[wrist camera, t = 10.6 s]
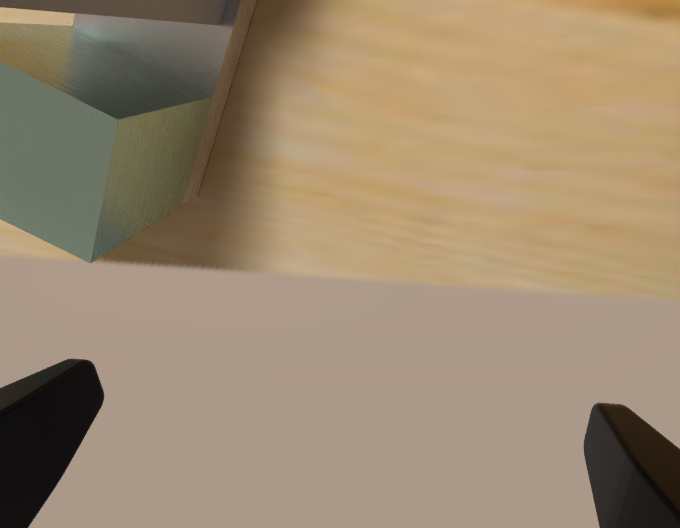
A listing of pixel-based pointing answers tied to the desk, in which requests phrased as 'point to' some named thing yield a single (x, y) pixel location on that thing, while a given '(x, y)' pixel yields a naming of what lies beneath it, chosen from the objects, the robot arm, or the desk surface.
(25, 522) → the robot arm
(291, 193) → the desk surface
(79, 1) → the block
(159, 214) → the rail
